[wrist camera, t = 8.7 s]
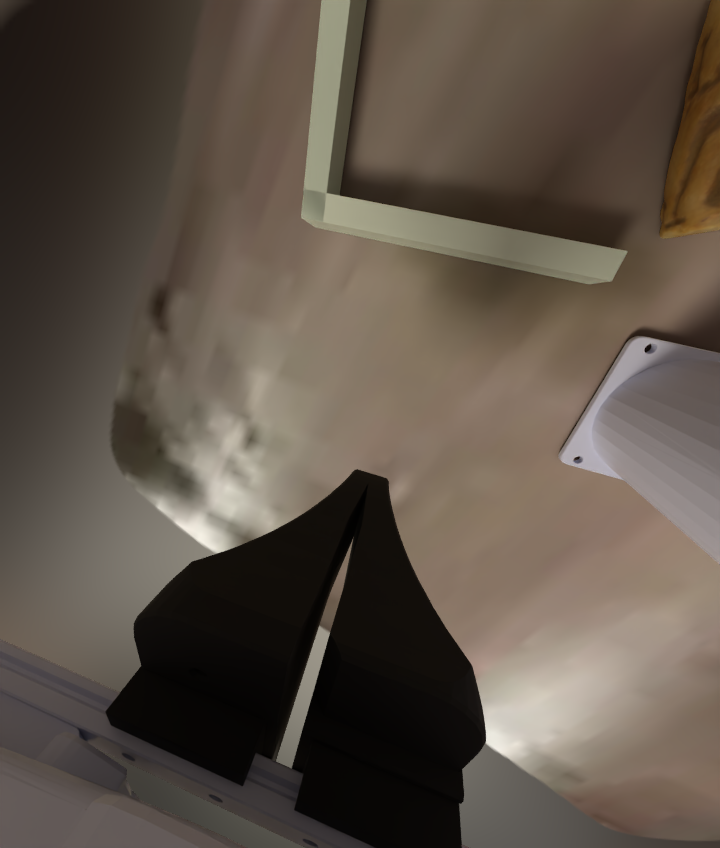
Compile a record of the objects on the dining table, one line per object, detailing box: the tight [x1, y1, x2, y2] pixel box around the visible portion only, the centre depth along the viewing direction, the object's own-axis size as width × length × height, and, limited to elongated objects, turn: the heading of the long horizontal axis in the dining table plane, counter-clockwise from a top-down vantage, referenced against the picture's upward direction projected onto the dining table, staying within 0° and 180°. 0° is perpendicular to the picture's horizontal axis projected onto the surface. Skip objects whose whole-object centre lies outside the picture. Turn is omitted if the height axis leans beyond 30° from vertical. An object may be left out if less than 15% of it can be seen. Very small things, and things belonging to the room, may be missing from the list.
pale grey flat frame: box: [301, 0, 628, 284], centre depth 11 cm, size 15×14×2 cm
